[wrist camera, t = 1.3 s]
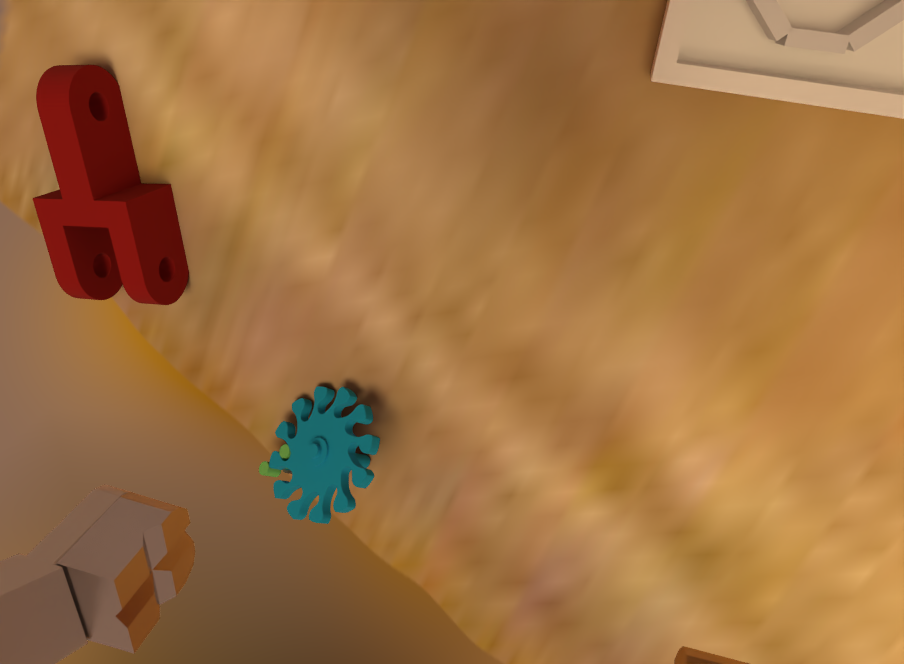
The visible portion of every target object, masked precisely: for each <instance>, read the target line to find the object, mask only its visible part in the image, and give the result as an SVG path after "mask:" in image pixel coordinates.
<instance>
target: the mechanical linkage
mask: <svg viewBox="0 0 904 664" xmlns="http://www.w3.org/2000/svg"><path fill="white" fill-rule="evenodd" d="M36 100H37V108H38V112H39V116H40V119H41V123H42V126H43V130H44V134H45V137H46V141H47V145H48V148H49V152H50V155H51V159H52V163H53V166H54V170H55V173H56V177H57V181H58V184H59V188H60V190H57V191H54V192H51V193H47V194H44V195H41V196H38V197H35V198H33V201H34V205H35V208H36V211H37V215H38V218H39V222H40V225H41V228H42V232H43V235H44V238H45V242H46V245H47V248H48V252H49V255H50V259H51V262H52V265H53V268H54V272H55V276H56V279H57V281H58V283H59V285H60V286H61V288H62V289H63V290H64V291H65V292H66V293H67V294H68V295H70V296H72V297H75V298H82V299H94V300H105V299H108V298H111V297H112V296H114V295H115V294H116V293H117V292H118V291H119V289H120V288H121V286H122V284H123V286H124V288H125V290H126V292H127V294H128V295H129V296H130V297H131V298H132V299H133V300H135V301H136V302H139V303H146V304H159V305H169V304H172V303H174V302H176V301H177V300H178V299H179V298H180V296H181V295H182V294H183V292H184V290H185V287H186V285H187V281H188V275H189V270H188V265H187V260H186V255H185V250H184V246H183V241H182V236H181V231H180V226H179V222H178V217H177V212H176V207H175V202H174V198H173V193H172V188H171V184H144V183H141V180H140V176H139V171H138V167H137V163H136V158H135V154H134V149H133V145H132V140H131V136H130V132H129V127H128V123H127V118H126V114H125V110H124V105H123V101H122V96H121V92H120V87H119V85H118V83H117V82H116V80H115V79H114V78H113V76H112V75H111V74H110V73H109V72H108V71H106V70H105V69H103V68H101V67H99V66H96V65H59V66H53V67H51V68H49V69H48V70H46V71H45V72H44V74H43V75H42V76H41V78H40V80H39V83H38V87H37V93H36Z"/></svg>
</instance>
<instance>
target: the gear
mask: <svg viewBox="0 0 904 664" xmlns="http://www.w3.org/2000/svg"><path fill="white" fill-rule="evenodd" d="M334 393H335V392H334V390H332V389H329V388H325V387H316V389H315V391H314V398H315V403H314V408H313V411H312V414H311V416H310V418H309V420H308V416H309V414H310V411H311V409H312V402H311V400H308V399H304V398H300V399H298V400H296V401H295V402H294V403H292V410H293V412H294V413H295V415H296V418H297V434H296V436H295V426H294V424H293V423H290V422H285V421H283V422H282V423H281V424H280V425H279V427H278V428H277V430H276V432H275V433H276V436H277V437H278V438H282V439H283V440H285V441H286V443H287V444H288V445H287V444H284V445H282V447H281V448H280V452H277V451H274V452H273V453H272V455H271V458H270V462H266V461H265V462H262V463H261V464H260V467H259V472H260V474H261V475H265V476H272V477H278V476H279V475H280V473H281V470H283V471H284V472H285V473H290V474H292V480H291V481H290V482H288V481H281V480H278V481H276V482H275V483H274V494H275V498H280V499H287V498H289V497H290V496H291V494H292V493H293V492H294V491H295V490H297V489H299V488H302V490H303V494H302V497H301V498H300V499H299V500H295V501H291V502H290V503H289V505H288V506H287V510H288V512H289V514H290V516H291V517H292V518H293V519H298V520H302V519H304V518H305V517H306V515H307V512H308V509H309V506H310V504H311V502H312V501H313V500H314V499H315V498H316V497H317V496H318V495H319V502H318V504H317V505H316V506H315V507H314V508H313V509H312V510H311V512H310V514H309V520H311V521H312V522H316V523H327V524H328V523H329V521H330V519H331V512H330V505H331V499H332V496H333V494H334V492H335V489H336V488H337V496H336V498H335V500H334V504H333V507H334V510H335V512H342V513H346V512H349V511H351V510H353V509H354V508H355V506H356V503H355V499H354V498H353V496H352V495H351V493H350V490H349V472H350V471H351V470H352V481H353V484H354V485H355V486H356V487H360V488H366V487H367V486H368V485H369V484H370V483H371V481H372V480H373V478H374V473H373V472H372V471H371V470H369V469H366V468H367V467H368V466H369V464H370V458H369V456H367V455H363V454H358V453H355V451H356V448H357V446H359V448H360V450H361V451H362V452H363V453H366V454H371V455H375V454H376V453H377V451H378V448H379V442H380V438H379V437H377V436H373V435H369V434H367V435H364V436H361V437H357V436H355V435H354V434H353V431H352V429H353V426H354V424H355V423H356V422H358V423H362V424H366V425H368V424H370V423H371V422H372V421H373V414H372V410H371V407H370V406H366V405H363V404H361V405H358V406H357V407H356V408H355V410H354V411H353V412H352V413H351V414H349V415H348V416H346V417H343V418H342V417H341V412H342V410H343V409H344V408H345V407H348V406H352V405H353V404H354V403H355V402H356V400H357V396H356V394H355V393H354V392H353V391H352V390H350V389H348V388H345V387H341V388H340V389H339V390H338V392H337V395H336V399H335V401H334V403H333V404H332V406H331V407H330V408H329V409H328V410H327V411H326V412H325V408H326V406H327V404H328V403H330V402H331V401H332V399H333V397H334Z"/></svg>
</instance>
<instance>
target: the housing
mask: <svg viewBox="0 0 904 664" xmlns="http://www.w3.org/2000/svg"><path fill="white" fill-rule="evenodd" d="M650 77H651V81H652V82H659V83H666V84H673V85H679V86H686V87H693V88H700V89H706V90H713V91H720V92H727V93H734V94H740V95H747V96H754V97H761V98H768V99H774V100H781V101H788V102H795V103H801V104H808V105H815V106H822V107H829V108H835V109H842V110H849V111H856V112H862V113H869V114H876V115H883V116H890V117H896V118H903V119H904V0H668V1H667V5H666V9H665V13H664V18H663V22H662V26H661V31H660V35H659V39H658V43H657V48H656V52H655V56H654V61H653V65H652V69H651V73H650Z"/></svg>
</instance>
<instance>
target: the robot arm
mask: <svg viewBox="0 0 904 664" xmlns="http://www.w3.org/2000/svg"><path fill="white" fill-rule="evenodd" d="M189 524H190V519H189V515H188V511H187V509H185V508H182V507H179V506H175V505H172V504H169V503H165V502H162V501H159V500H156V499H152V498H149V497H146V496H142V495H139V494H136V493H133V492H129V491H126V490H123V489H119V488H116V487H112V486H109V485H102V486H100V487H98V488H96V489H94V490H92V492H90V494H88V495H87V496H86V497H85V498H84V499H83V500H82V501H81V502H80V503H79V504H78V505H77V506H76V507H75V508H74V509H73V510H72V511H71V512H70V513H69V514H68V515H67V516H66V517H65V518H64V519H63V520H62V521H61V522H60V523H59V524H58V525H57V526H56V527H55V528H54V529H53V530H52V531H51V532H50V533H49V534H48V535H47V536H46V537H45V538H44V539H43V540H42V541H41V542H40V543H39V544H38V545H36V547H35V548H33V550H31V551H30V553H28V554H27V555H22V554H16V555H14V556H11V557H9V558H7V559H5V560H2V561H0V664H56V663H57V662H59V661H61V660H62V659H64V658H65V657H67V656H68V655H70V654H72V653H73V652H74V651H76V650H78V649H79V648H81V647H82V646H84V645H86V644H87V642H88V641H87V640H90V641H93V642H97V643H100V644H104V645H107V646H110V647H114V648H117V649H121V650H124V651H127V652H131V653H135V652H136V651H137V649H138V648H139V647H140V645H141V644H142V643H143V641H144V640H145V638H146V637H147V635H148V634H149V633H150V632H151V630H152V629H153V627H154V626H155V625H156V623H157V622H158V621H159V619H160V604H162V603H164V602H166V601H168V600H170V599H171V598H173V597H175V596H177V594H178V593H179V592H180V590H181V589H182V587H183V586H184V584H185V583H186V581H187V579H188V577H189V574H190V572H191V570H192V567H193V565H194V557H195V546H194V541H193V540H192V539H191V537H190V536H189V535H188V534H187V533H186V531H185V529H186V528H187V527H188V525H189ZM674 664H749V663H745V662H741V661H737V660H734V659H730V658H726V657H722V656H718V655H715V654H711V653H707V652H703V651H699V650H696V649H692V648H688V647H684V646H683V647H682V648H680V649H679V651H678V653H677V655H676V657H675V660H674Z"/></svg>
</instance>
